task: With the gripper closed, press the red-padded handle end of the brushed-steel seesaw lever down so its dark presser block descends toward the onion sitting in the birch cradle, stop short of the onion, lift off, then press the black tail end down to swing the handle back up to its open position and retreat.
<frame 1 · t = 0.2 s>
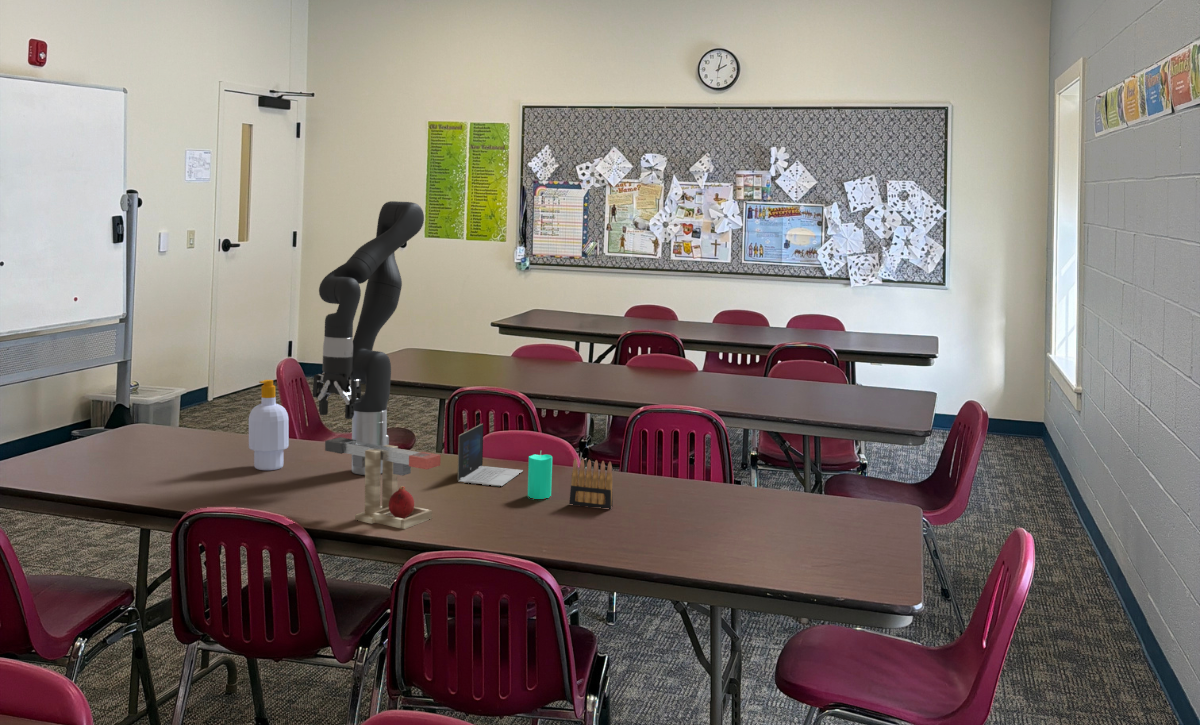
hand: (336, 416, 260), 17 cm above the table, tool pointing down, fingers open, 8 cm apart
laptop: (491, 478, 274), on the table
lever: (381, 458, 232), point 14 cm above the table, hinge at 0.0°
soap bottle: (268, 468, 274), on the table
onion: (401, 521, 231), resting in press stand
candle: (539, 497, 256), on the table
ammunition clip: (590, 507, 249), on the table
press stand: (381, 515, 234), on the table
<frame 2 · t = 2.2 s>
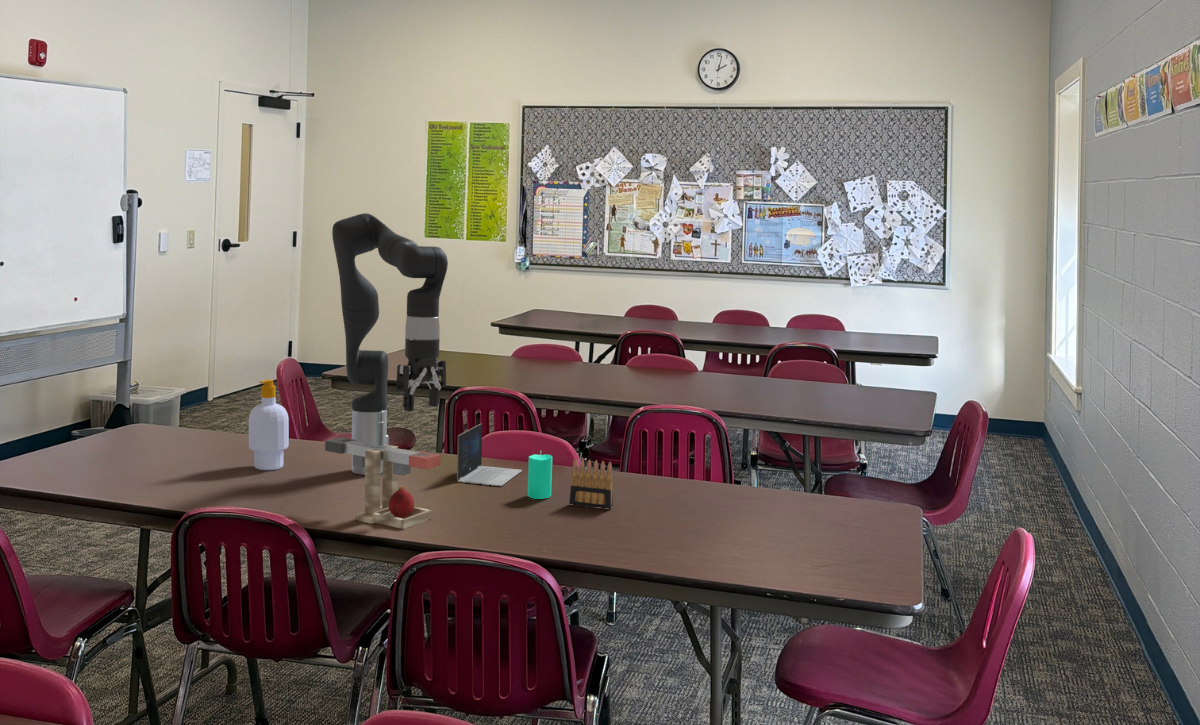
hand: (421, 408, 225), 27 cm above the table, tool pointing down, fingers open, 8 cm apart
nothing on the table moved.
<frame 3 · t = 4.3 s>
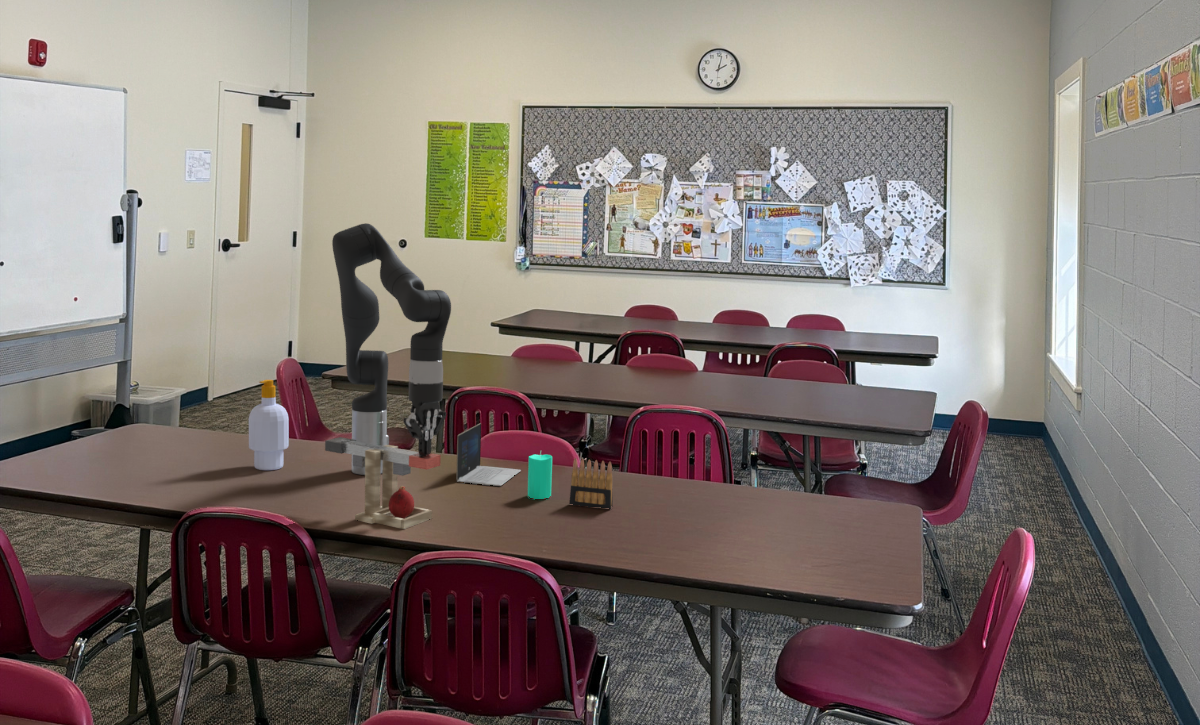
hand: (424, 455, 226), 16 cm above the table, tool pointing down, fingers closed
lever: (381, 458, 232), point 14 cm above the table, hinge at 0.1°, touching gripper
everything else where it was.
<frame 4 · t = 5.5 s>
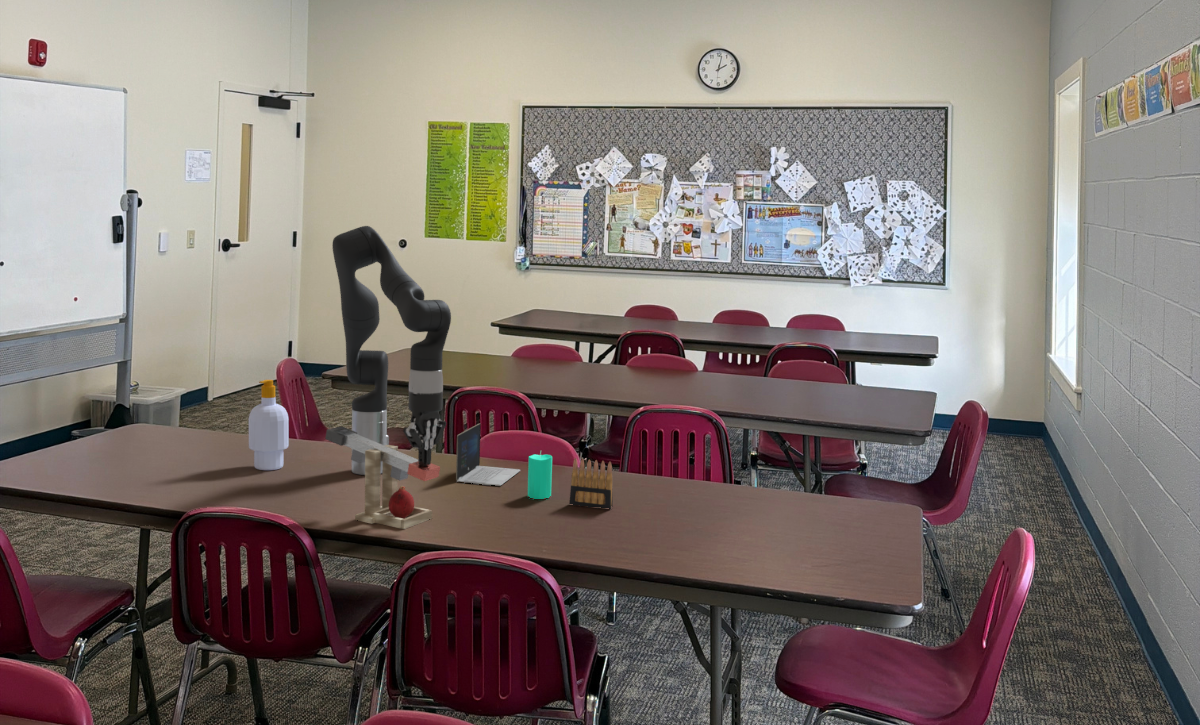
hand: (424, 465, 226), 14 cm above the table, tool pointing down, fingers closed
lever: (380, 458, 232), point 14 cm above the table, hinge at 10.7°, touching gripper
everything else where it was.
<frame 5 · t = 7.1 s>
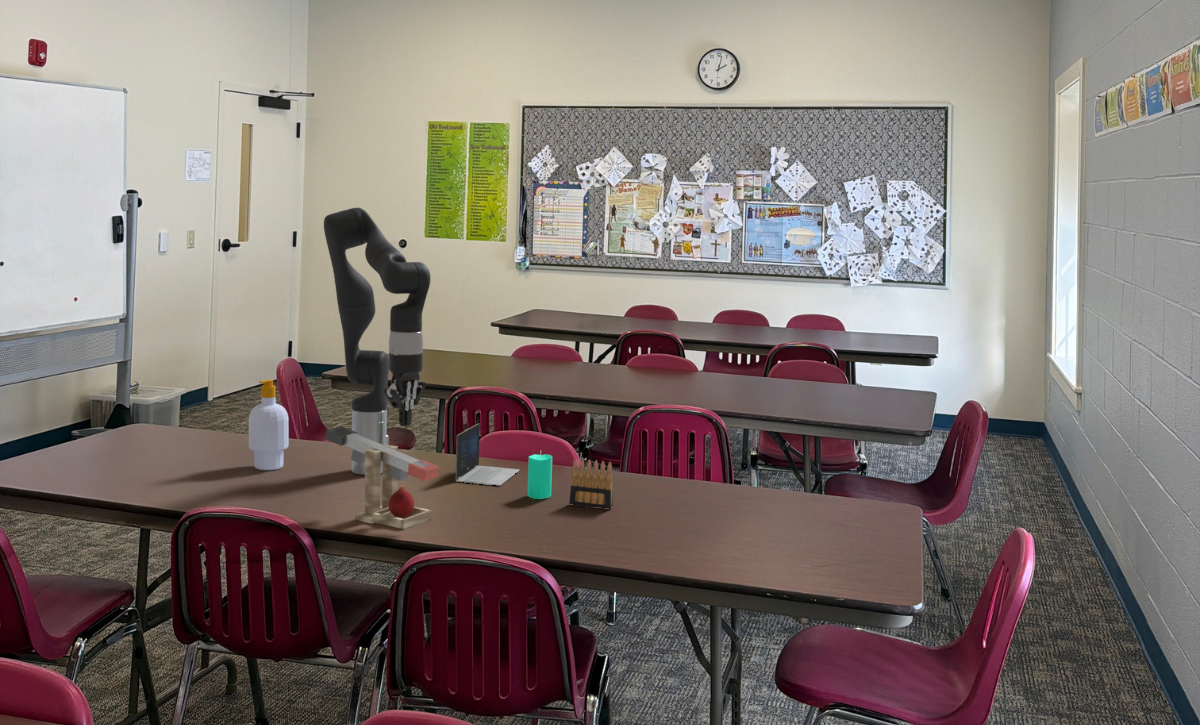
hand: (405, 425, 230), 22 cm above the table, tool pointing down, fingers closed
lever: (380, 458, 232), point 14 cm above the table, hinge at 10.7°
everything else where it was.
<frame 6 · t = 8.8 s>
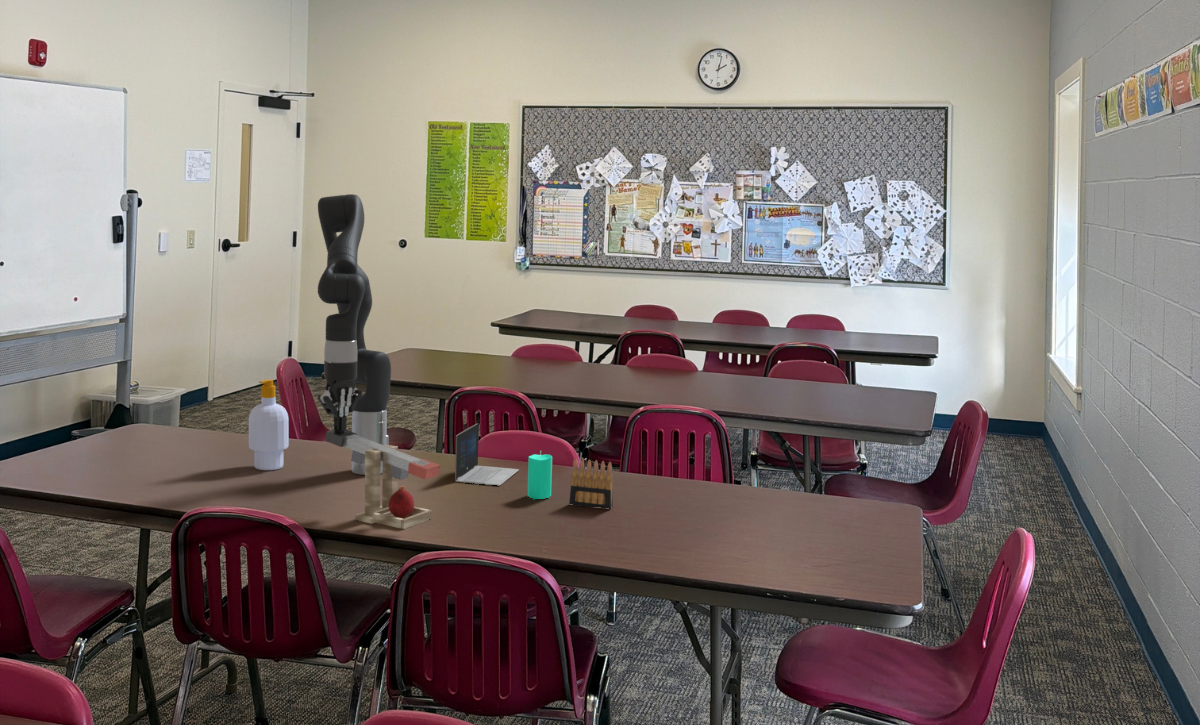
hand: (340, 431, 238), 18 cm above the table, tool pointing down, fingers closed
lever: (380, 458, 232), point 14 cm above the table, hinge at 9.0°, touching gripper
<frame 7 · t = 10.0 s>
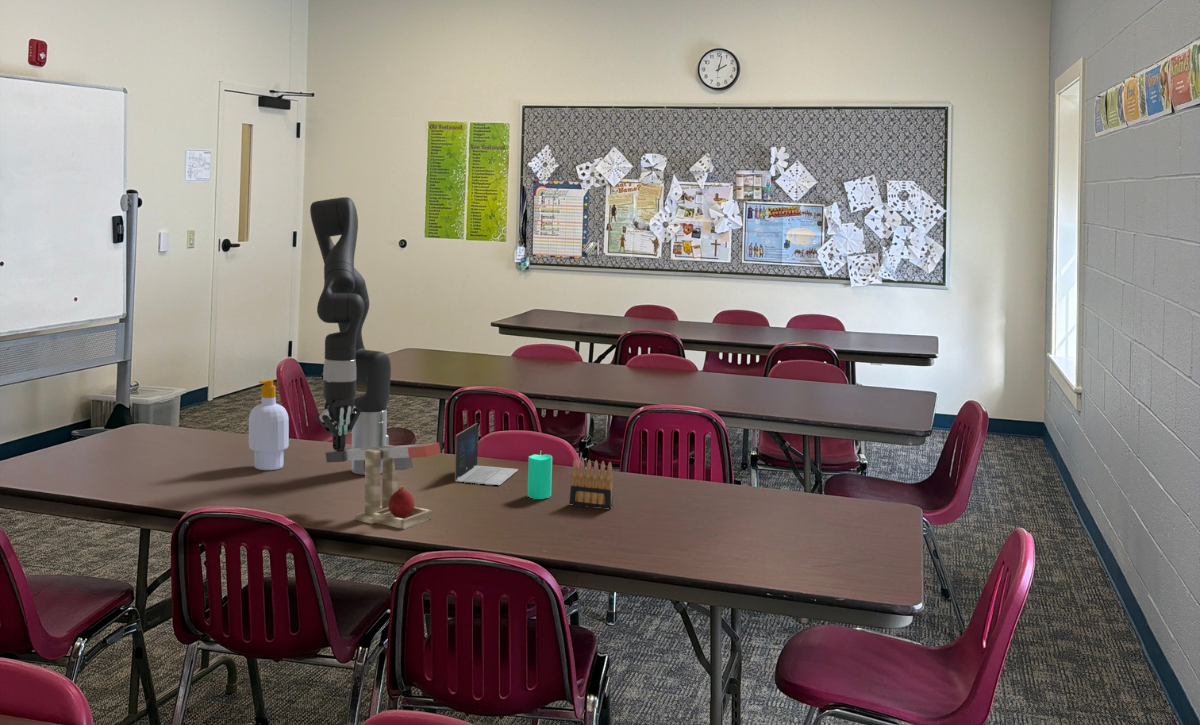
hand: (338, 449, 238), 14 cm above the table, tool pointing down, fingers closed
lever: (382, 458, 232), point 14 cm above the table, hinge at -10.8°, touching gripper
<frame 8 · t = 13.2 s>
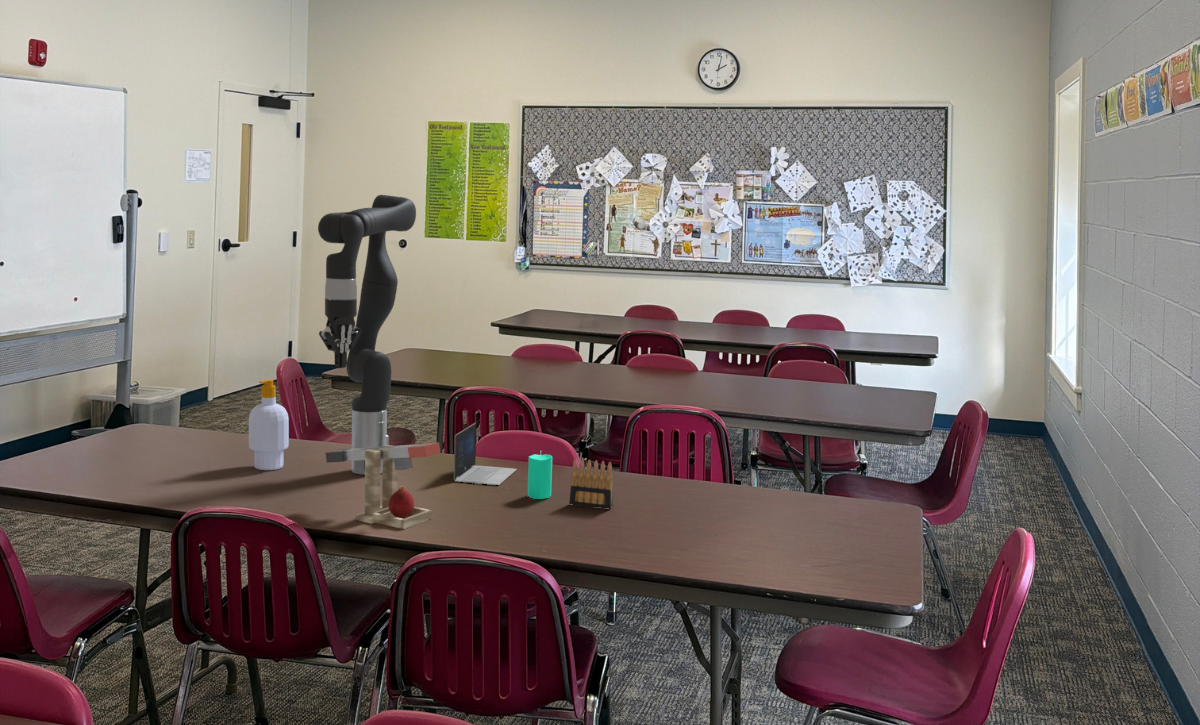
hand: (340, 367, 246), 32 cm above the table, tool pointing down, fingers closed
lever: (382, 458, 232), point 14 cm above the table, hinge at -10.9°
at the end: lever at -11° (first picture: +0°); onion tilted 0°; onion moved 0.2 cm from its start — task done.
